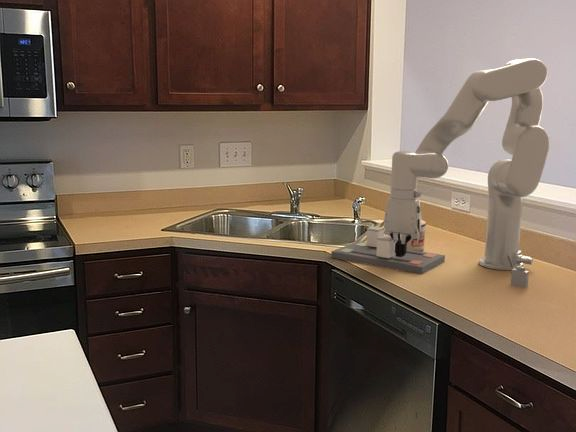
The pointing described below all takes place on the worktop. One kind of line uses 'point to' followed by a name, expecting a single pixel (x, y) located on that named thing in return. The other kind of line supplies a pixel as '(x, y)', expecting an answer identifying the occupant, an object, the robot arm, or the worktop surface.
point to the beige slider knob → (385, 247)
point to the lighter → (516, 273)
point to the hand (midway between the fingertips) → (400, 255)
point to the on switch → (374, 235)
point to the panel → (409, 262)
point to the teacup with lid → (417, 240)
